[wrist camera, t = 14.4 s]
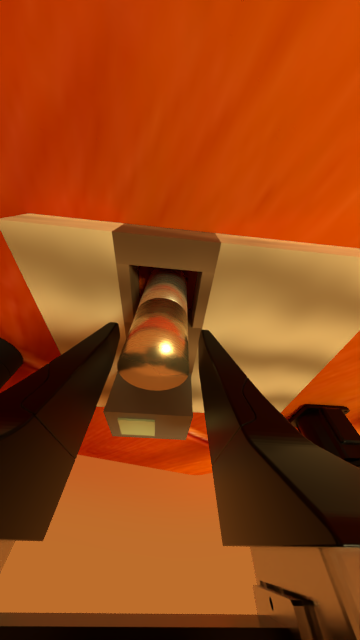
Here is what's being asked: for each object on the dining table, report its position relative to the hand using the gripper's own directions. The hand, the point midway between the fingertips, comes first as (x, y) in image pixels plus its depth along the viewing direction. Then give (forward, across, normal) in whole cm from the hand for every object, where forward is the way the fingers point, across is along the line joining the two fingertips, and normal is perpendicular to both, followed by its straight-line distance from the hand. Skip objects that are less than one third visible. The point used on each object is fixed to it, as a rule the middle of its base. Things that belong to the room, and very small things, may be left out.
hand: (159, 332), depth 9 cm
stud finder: (+3, +1, +11) cm, 11 cm away
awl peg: (+6, 0, 0) cm, 6 cm away
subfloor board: (+6, -3, +6) cm, 9 cm away
